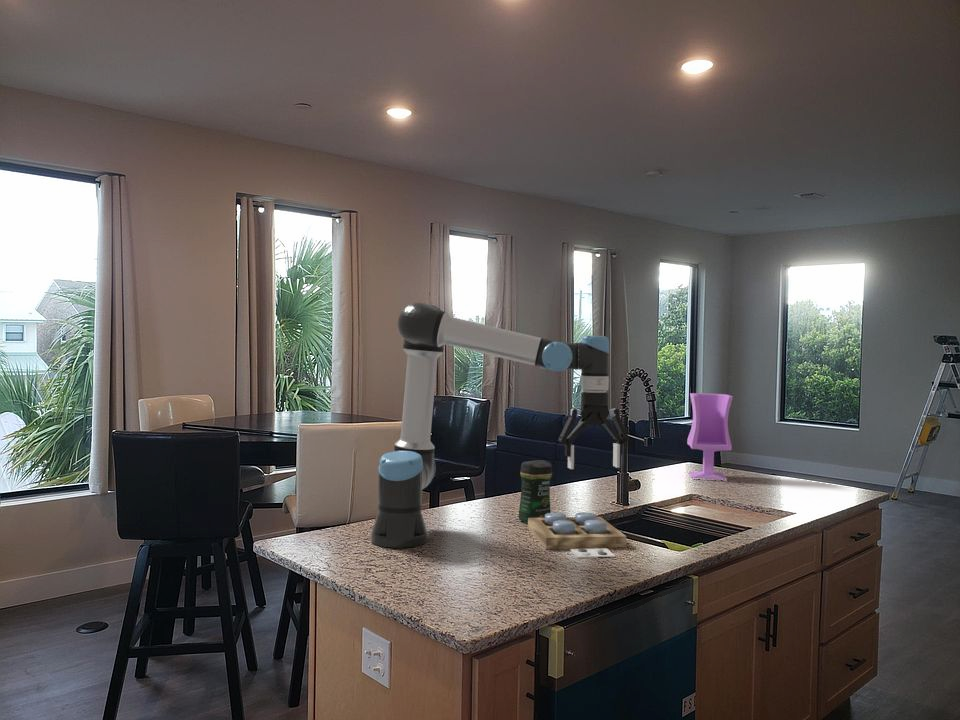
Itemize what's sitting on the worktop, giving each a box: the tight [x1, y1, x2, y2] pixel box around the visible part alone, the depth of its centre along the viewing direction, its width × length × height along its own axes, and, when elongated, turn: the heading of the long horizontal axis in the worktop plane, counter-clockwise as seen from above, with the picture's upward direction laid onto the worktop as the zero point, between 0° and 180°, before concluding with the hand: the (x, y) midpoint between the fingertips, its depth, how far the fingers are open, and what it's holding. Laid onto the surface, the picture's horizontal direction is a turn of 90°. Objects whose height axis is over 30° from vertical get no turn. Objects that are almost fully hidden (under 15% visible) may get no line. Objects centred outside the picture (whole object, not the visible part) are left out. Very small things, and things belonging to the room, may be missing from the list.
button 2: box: [553, 520, 575, 535], centre depth 196 cm, size 6×6×2 cm
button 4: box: [584, 520, 607, 534], centre depth 197 cm, size 6×6×2 cm
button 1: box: [545, 512, 567, 526], centre depth 205 cm, size 6×6×2 cm
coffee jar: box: [518, 459, 553, 524], centre depth 218 cm, size 10×8×19 cm
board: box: [527, 516, 627, 550], centre depth 201 cm, size 22×22×3 cm
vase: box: [686, 392, 734, 479], centre depth 300 cm, size 16×16×35 cm
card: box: [569, 548, 616, 559], centre depth 185 cm, size 10×7×1 cm
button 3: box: [574, 512, 597, 526], centre depth 206 cm, size 6×6×2 cm
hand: (593, 467), depth 199 cm, fingers open, 13 cm apart
